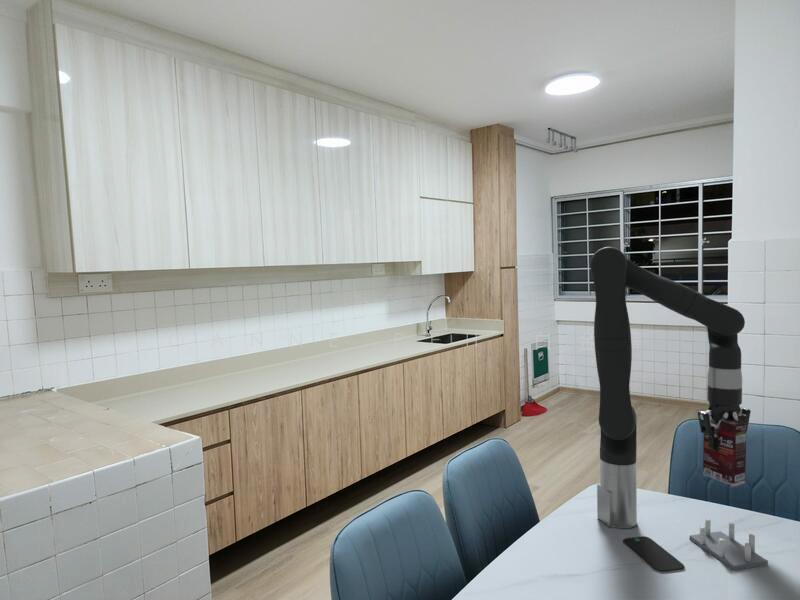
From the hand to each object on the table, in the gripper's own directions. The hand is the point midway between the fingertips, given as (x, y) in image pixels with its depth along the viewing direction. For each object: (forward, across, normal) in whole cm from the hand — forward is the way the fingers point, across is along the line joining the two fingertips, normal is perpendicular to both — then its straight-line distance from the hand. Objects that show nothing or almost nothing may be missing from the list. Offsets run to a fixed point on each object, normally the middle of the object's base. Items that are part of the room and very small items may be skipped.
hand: (723, 449), depth 134 cm
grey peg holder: (+22, +6, +8) cm, 24 cm away
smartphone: (+23, +24, +4) cm, 33 cm away
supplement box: (+8, 0, 0) cm, 8 cm away
